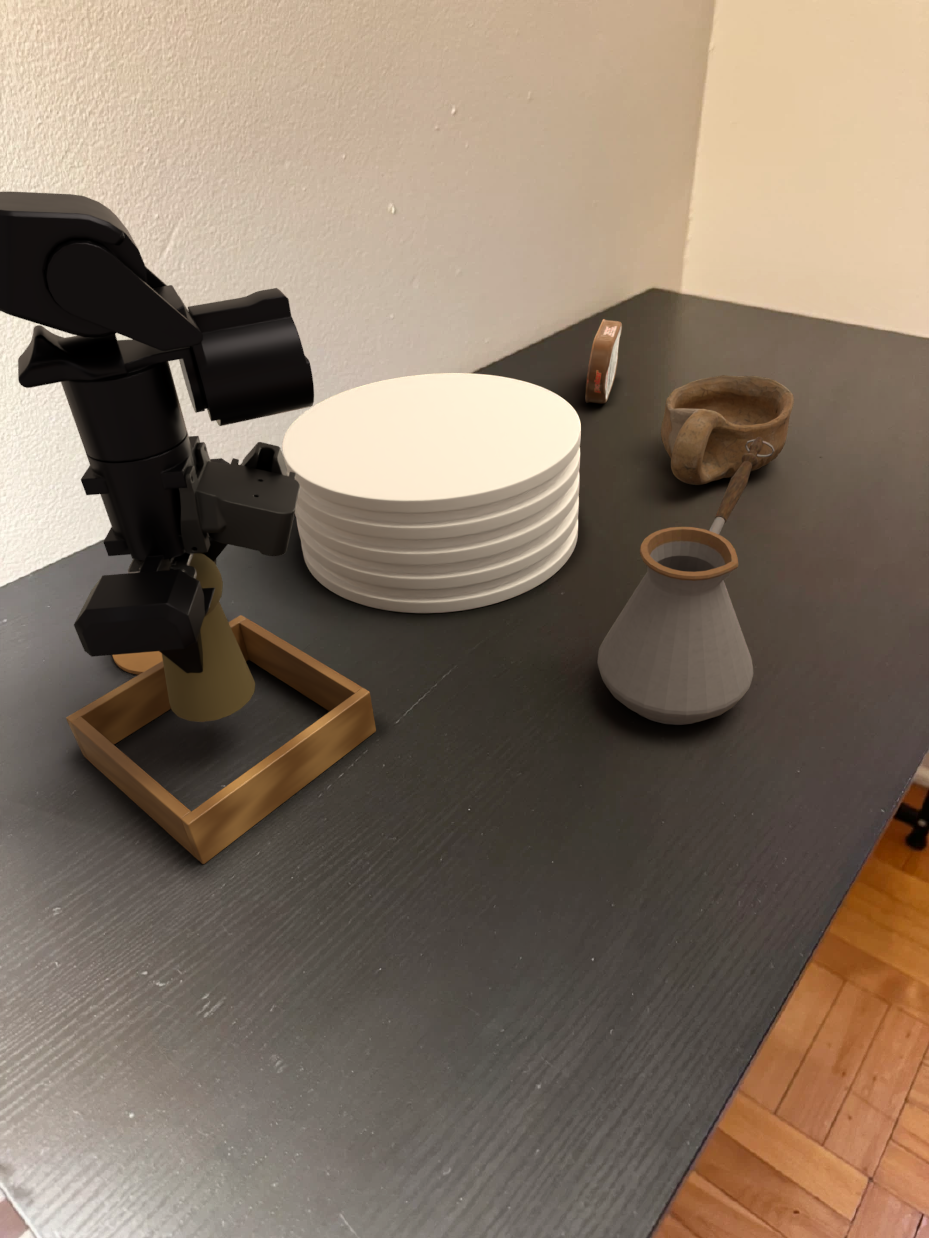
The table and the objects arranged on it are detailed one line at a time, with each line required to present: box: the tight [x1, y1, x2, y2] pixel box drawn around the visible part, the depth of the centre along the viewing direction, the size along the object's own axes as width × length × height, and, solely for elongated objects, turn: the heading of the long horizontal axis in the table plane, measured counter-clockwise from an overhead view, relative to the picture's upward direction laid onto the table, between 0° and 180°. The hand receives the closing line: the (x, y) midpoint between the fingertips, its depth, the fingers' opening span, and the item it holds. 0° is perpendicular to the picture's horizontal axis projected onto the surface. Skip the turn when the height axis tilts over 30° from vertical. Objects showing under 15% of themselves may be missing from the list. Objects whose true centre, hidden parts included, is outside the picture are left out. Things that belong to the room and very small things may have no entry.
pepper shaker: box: [162, 553, 256, 723], centre depth 57 cm, size 6×6×11 cm
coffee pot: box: [596, 437, 774, 726], centre depth 64 cm, size 21×12×15 cm, turn 147°
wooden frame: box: [65, 614, 377, 865], centre depth 62 cm, size 16×16×4 cm
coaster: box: [111, 651, 163, 676], centre depth 74 cm, size 9×9×1 cm
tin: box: [584, 318, 623, 404], centre depth 111 cm, size 15×3×8 cm, turn 165°
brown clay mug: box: [660, 374, 795, 486], centre depth 91 cm, size 18×14×10 cm
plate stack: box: [281, 372, 582, 614], centre depth 83 cm, size 28×28×12 cm
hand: (201, 650), depth 58 cm, fingers closed on pepper shaker, 4 cm apart
